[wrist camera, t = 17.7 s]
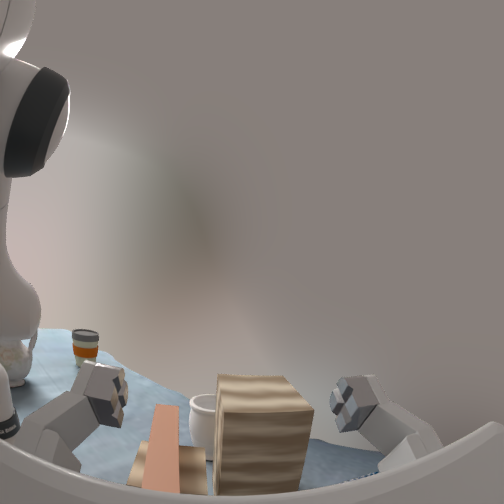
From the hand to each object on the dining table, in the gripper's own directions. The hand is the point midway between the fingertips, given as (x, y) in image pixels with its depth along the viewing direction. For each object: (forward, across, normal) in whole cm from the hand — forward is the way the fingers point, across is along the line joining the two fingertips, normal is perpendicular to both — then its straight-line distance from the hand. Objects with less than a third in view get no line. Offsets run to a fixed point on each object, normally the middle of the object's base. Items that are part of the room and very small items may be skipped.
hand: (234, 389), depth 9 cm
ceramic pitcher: (+38, +66, +66) cm, 101 cm away
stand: (+8, -8, +49) cm, 50 cm away
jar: (+25, -2, +59) cm, 64 cm away
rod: (+8, +6, +31) cm, 32 cm away
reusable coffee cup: (+71, +52, +85) cm, 122 cm away
